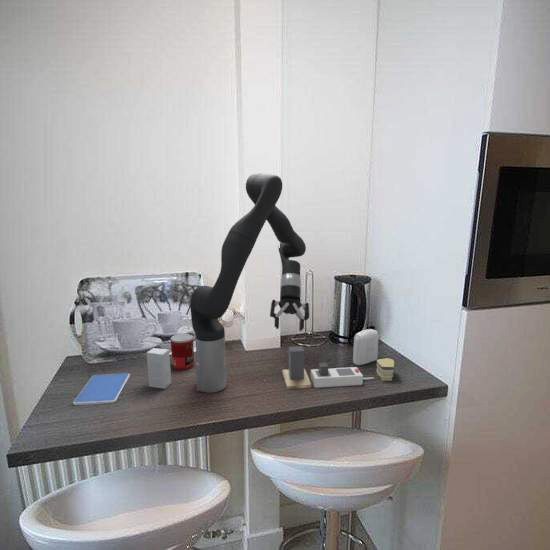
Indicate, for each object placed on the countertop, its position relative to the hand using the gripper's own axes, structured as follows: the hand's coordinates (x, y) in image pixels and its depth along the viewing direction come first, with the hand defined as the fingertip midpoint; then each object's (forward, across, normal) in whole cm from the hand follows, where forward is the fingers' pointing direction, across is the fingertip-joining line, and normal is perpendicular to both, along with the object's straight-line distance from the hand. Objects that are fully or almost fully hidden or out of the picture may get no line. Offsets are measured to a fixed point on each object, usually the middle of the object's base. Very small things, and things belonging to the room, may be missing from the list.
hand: (289, 329), depth 143 cm
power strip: (+18, +18, -6) cm, 26 cm away
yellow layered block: (+16, +33, -5) cm, 37 cm away
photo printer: (+9, +30, +5) cm, 32 cm away
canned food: (+14, -37, +12) cm, 41 cm away
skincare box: (+22, -42, 0) cm, 48 cm away
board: (+18, +2, -3) cm, 18 cm away
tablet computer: (+25, -60, +1) cm, 65 cm away
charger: (+17, +2, -4) cm, 18 cm away
